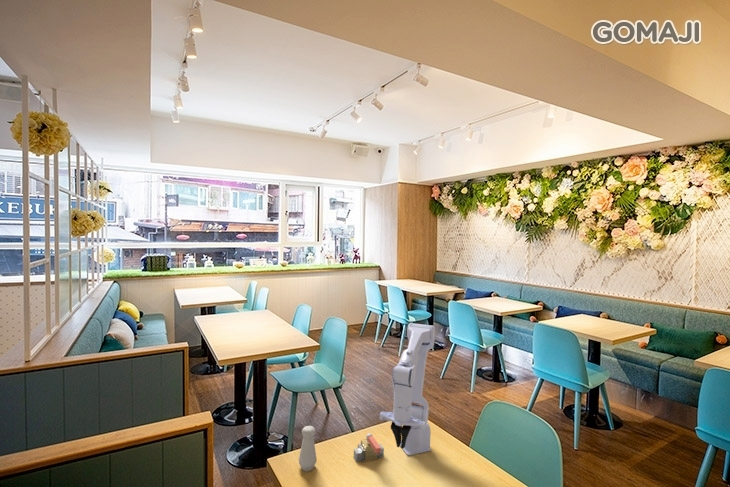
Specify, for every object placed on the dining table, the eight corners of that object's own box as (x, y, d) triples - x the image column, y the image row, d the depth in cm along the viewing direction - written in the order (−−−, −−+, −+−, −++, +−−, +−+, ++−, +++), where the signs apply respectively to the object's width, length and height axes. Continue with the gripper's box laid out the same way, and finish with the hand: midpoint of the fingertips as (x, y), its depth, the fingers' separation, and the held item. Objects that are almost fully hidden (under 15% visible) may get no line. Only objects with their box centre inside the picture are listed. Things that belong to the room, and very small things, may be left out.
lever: (365, 438, 124) (365, 433, 124) (370, 437, 125) (371, 432, 125) (375, 453, 116) (375, 448, 116) (381, 452, 117) (381, 447, 117)
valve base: (379, 450, 128) (380, 434, 128) (384, 457, 124) (385, 441, 123) (352, 455, 124) (353, 439, 124) (357, 463, 120) (357, 446, 120)
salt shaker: (312, 474, 114) (314, 434, 113) (295, 471, 115) (296, 431, 115) (318, 463, 120) (320, 424, 119) (302, 460, 121) (303, 422, 120)
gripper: (376, 404, 113) (375, 446, 114) (421, 415, 108) (419, 459, 108) (384, 395, 120) (383, 435, 120) (427, 405, 114) (425, 447, 114)
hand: (401, 446), depth 115 cm, fingers closed
